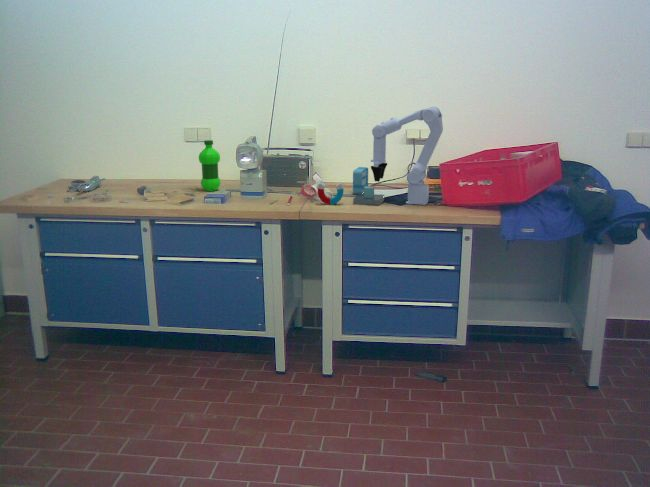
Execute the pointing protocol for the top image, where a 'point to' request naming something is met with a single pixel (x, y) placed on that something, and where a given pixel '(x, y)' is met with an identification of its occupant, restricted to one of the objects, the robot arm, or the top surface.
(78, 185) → the grey irregular piece
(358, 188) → the data package
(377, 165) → the robot arm
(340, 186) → the magnet
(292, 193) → the top surface
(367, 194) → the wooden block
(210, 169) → the plastic bottle
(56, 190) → the top surface
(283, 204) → the top surface
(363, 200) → the base block
